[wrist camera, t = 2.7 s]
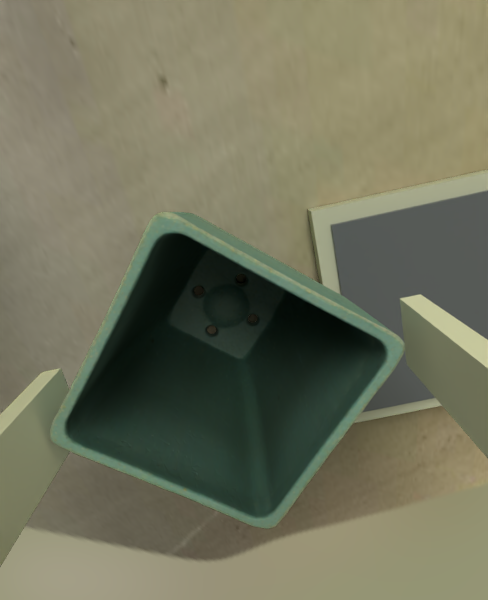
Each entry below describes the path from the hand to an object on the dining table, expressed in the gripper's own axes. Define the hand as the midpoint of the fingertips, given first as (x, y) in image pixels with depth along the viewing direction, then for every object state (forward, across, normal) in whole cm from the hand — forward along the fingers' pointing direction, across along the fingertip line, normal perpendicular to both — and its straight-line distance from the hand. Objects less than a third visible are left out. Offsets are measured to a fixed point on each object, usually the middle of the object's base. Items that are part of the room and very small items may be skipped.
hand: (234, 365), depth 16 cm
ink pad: (+7, +11, -2) cm, 13 cm away
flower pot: (+7, 0, 0) cm, 7 cm away
